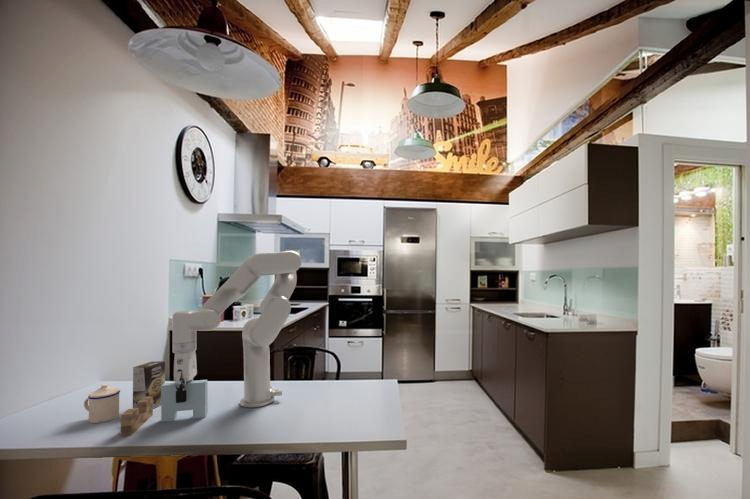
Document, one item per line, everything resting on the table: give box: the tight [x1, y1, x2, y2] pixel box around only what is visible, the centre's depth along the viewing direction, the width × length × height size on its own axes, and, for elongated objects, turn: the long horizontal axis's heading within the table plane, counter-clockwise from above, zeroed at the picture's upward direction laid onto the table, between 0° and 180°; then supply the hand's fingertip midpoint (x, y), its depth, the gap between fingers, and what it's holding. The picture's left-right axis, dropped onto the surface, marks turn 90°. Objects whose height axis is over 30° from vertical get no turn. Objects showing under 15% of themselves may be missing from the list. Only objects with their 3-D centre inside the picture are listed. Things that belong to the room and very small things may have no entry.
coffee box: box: [132, 360, 166, 409], centre depth 137 cm, size 9×6×16 cm
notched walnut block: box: [120, 396, 154, 437], centre depth 121 cm, size 16×3×6 cm, turn 11°
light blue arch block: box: [160, 379, 209, 423], centre depth 125 cm, size 14×3×12 cm, turn 101°
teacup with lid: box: [83, 383, 121, 424], centre depth 127 cm, size 12×9×12 cm
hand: (184, 398), depth 125 cm, fingers open, 6 cm apart
